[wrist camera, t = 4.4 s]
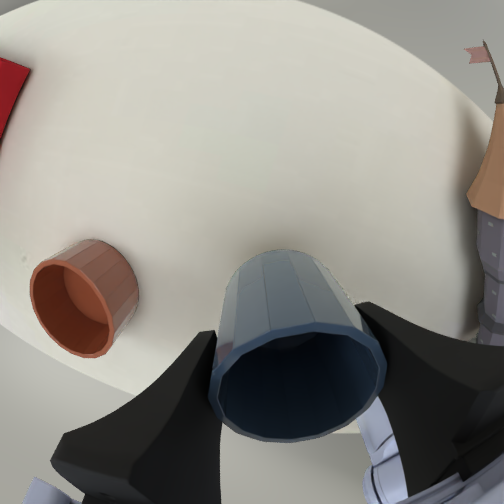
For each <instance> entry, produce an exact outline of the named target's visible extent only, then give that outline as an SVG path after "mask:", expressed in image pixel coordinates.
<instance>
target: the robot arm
mask: <svg viewBox="0 0 504 504" xmlns="http://www.w3.org/2000/svg"><path fill="white" fill-rule="evenodd" d="M355 308H356V309H357V311H358V312H359V314H360V315H361V317H362V318H363V320H364V321H365V323H366V324H367V326H368V327H369V328H370V330H371V331H372V333H373V335H374V336H375V338H376V339H377V341H378V342H379V344H380V347H381V349H382V351H383V353H384V356H385V358H386V360H387V364H388V365H387V371H386V377H385V382H384V387H383V389H382V390H381V392H380V393H379V395H378V396H377V398H376V399H375V401H374V402H373V403H372V405H371V406H370V408H369V409H368V410H366V411H365V412H364V413H363V414H361V415H360V416H359V417H358V418H356V420H357V423H358V426H359V429H360V431H361V434H362V437H363V440H364V443H365V446H366V449H367V451H368V453H369V454H370V459H371V462H372V465H371V466H369V467H368V468H367V469H366V471H365V475H364V478H363V491H364V496H365V499H366V501H367V504H504V346H494V345H484V344H477V343H472V342H467V341H462V340H458V339H454V338H450V337H447V336H444V335H441V334H438V333H435V332H432V331H429V330H427V329H425V328H422V327H420V326H418V325H415V324H413V323H411V322H409V321H407V320H405V319H403V318H401V317H399V316H397V315H395V314H393V313H391V312H389V311H387V310H385V309H383V308H381V307H379V306H377V305H375V304H373V303H371V302H365V303H360V304H356V305H355ZM216 341H217V336H216V333H215V330H211V331H203V332H199V333H198V334H197V335H196V337H195V338H194V339H193V340H192V341H191V343H190V344H189V345H188V346H187V347H186V349H185V350H184V351H183V352H182V353H181V354H180V356H179V357H178V358H177V359H176V360H175V361H174V362H173V363H172V364H171V365H170V367H169V368H168V369H167V370H166V371H165V372H164V373H163V374H162V375H161V376H160V377H159V378H158V379H157V380H156V381H155V382H153V383H152V384H151V385H150V386H149V387H148V388H146V389H145V390H144V391H143V392H142V393H140V394H139V395H138V396H136V397H135V398H134V399H132V400H131V401H130V402H128V403H126V404H125V405H123V406H122V407H120V408H119V409H117V410H116V411H114V412H112V413H110V414H108V415H107V416H105V417H103V418H101V419H99V420H97V421H95V422H93V423H91V424H88V425H86V426H83V427H81V428H78V429H75V430H72V431H70V432H67V433H64V434H63V436H62V438H61V440H60V442H59V444H58V446H57V448H56V450H55V452H54V454H53V456H52V458H51V460H50V461H51V464H52V466H53V468H54V469H55V470H56V471H57V472H58V473H59V474H60V475H61V476H62V477H64V478H65V479H66V480H67V481H69V482H70V483H71V484H72V485H74V486H75V487H76V488H78V489H79V490H80V491H82V492H83V493H85V496H84V499H83V501H82V503H81V502H79V501H76V500H74V499H71V498H70V497H69V496H68V495H67V494H65V493H64V492H62V491H61V490H60V489H58V488H56V487H54V486H52V485H51V484H49V483H47V482H45V481H43V480H41V479H39V478H37V477H34V478H33V480H32V482H31V484H30V487H29V489H28V491H27V493H26V496H25V498H24V500H23V502H22V504H221V490H220V437H221V436H220V435H221V429H222V422H221V421H220V420H219V419H218V418H217V417H216V415H215V413H214V411H213V408H212V406H211V404H210V402H209V400H208V389H209V383H210V377H211V371H212V365H213V359H214V353H215V347H216Z"/></svg>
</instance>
